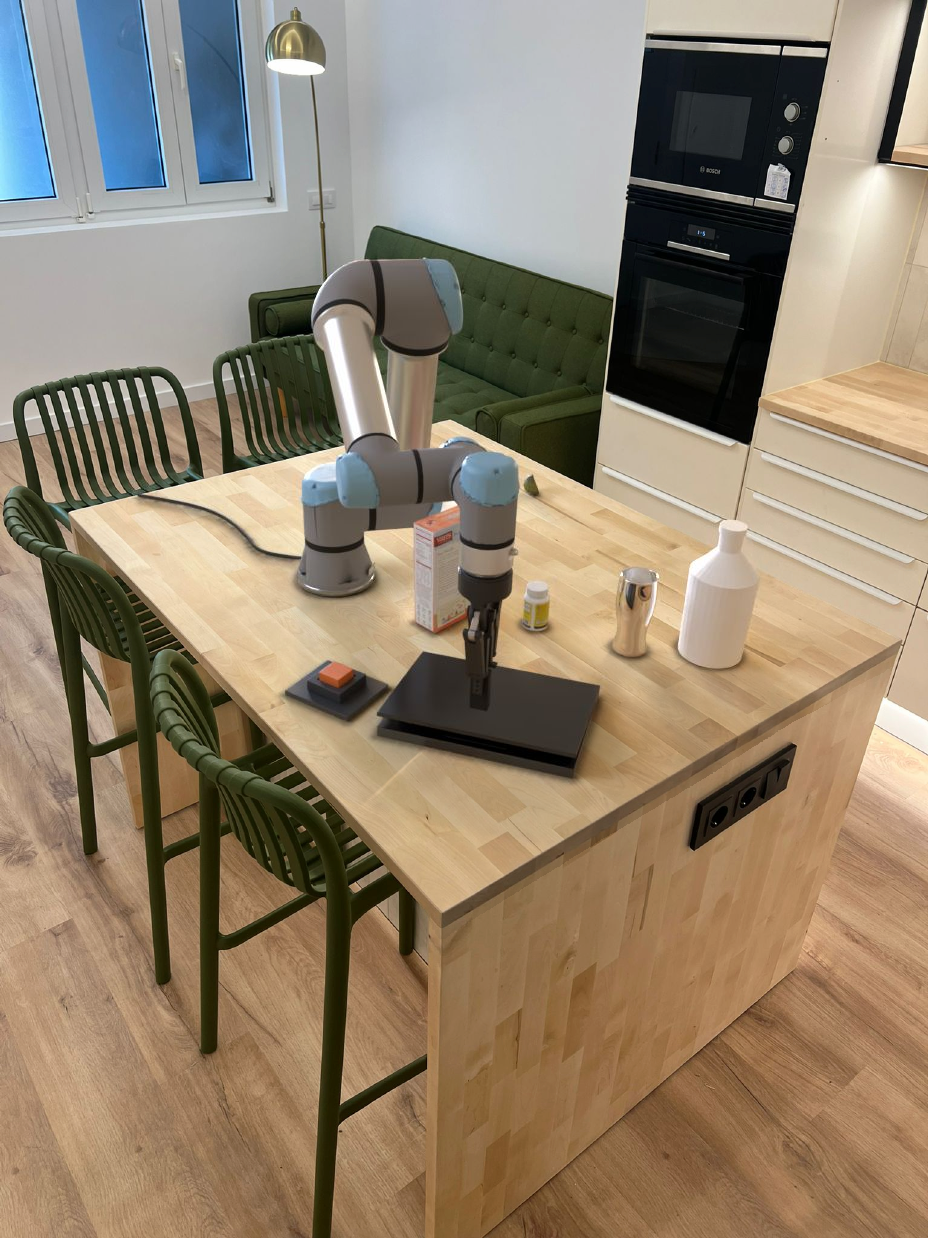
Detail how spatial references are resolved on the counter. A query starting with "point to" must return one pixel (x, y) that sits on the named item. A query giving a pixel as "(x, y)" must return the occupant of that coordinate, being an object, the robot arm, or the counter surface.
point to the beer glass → (634, 609)
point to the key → (336, 674)
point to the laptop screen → (495, 705)
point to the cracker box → (438, 571)
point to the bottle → (719, 602)
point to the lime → (531, 485)
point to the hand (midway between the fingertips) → (479, 706)
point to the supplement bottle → (536, 606)
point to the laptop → (483, 747)
